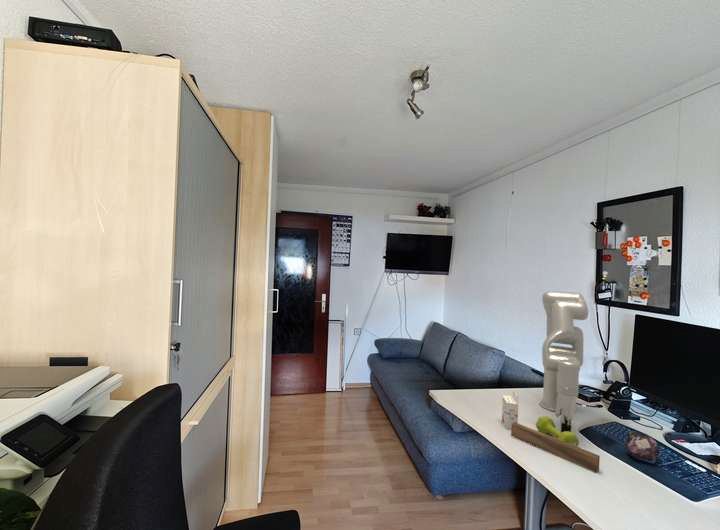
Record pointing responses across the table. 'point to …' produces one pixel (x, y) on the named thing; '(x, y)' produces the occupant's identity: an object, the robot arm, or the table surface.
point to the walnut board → (557, 447)
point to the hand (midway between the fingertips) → (565, 433)
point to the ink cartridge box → (510, 410)
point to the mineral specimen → (642, 446)
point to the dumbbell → (555, 431)
